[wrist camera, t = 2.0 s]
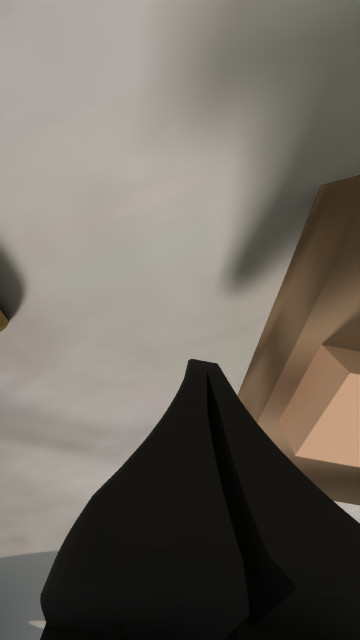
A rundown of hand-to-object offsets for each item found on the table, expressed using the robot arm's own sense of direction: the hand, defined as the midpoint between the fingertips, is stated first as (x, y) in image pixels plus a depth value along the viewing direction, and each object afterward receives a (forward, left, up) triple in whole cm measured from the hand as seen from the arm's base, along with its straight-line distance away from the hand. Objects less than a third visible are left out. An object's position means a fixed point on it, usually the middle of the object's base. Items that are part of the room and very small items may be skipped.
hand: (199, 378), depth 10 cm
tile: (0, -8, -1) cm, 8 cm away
